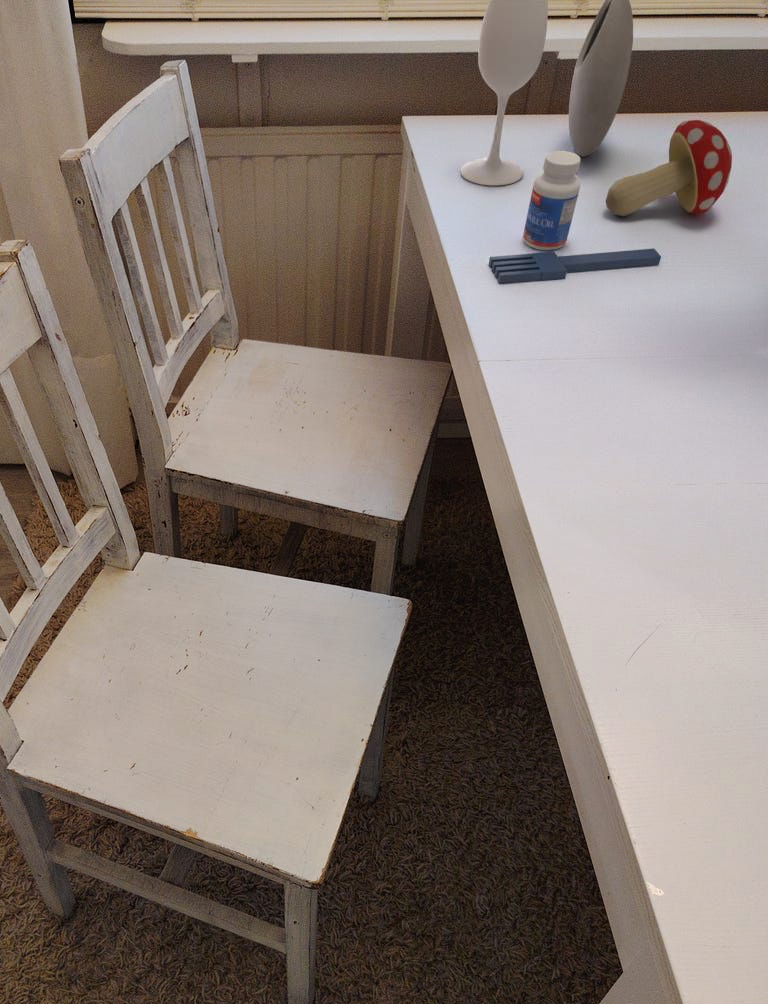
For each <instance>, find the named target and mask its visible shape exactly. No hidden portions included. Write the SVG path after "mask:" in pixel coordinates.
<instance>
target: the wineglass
mask: <svg viewBox="0 0 768 1004" xmlns="http://www.w3.org/2000/svg"><path fill="white" fill-rule="evenodd" d="M548 16H549V0H488V2H487V5H486V7H485V12H484V16H483V19H482V24H481V28H480V35H479V42H478V50H477V51H478V52H477V54H478V55H477V63H478V69H479V73H480V75H481V77H482V79H483V81H484V82H485V84H486V85H487V86H488V87H489V88H490V89H491V90H492V91H494V92H495V94H496V96H497V109H496V119H495V126H494V131H493V136H492V137H493V138H492V141H491V145H490V150H489V155H488V157H481V158H475V159H473V160H470V161H468V162H466V163H465V164H464V165H463V166H462V167H461V169H460V174H461V176H462V177H463V178H464V179H465V180H467V181H469V182H471V183H474V184H478V185H483V186H506V185H510V184H514V183H516V182H518V181H519V180H521V179H522V177H523V176H524V170H523V169H522V168H521V166H520V165H518V164H516V162H513V161H511V160H508V159H506V158H501V157H500V152H501V140H502V139H501V138H502V131H503V125H504V118H505V113H506V109H507V104H508V101H509V100H510V99H509V98H510V97H511V96H512V94H514V93H515V92H516V91H518V90H520V89H521V88H523V87H524V86H525V85H526V84H527V83H528V82H529V81H530V80H531V79H532V78H533V76H534V75H535V73H536V72H537V70H538V68H539V66H540V63H541V60H542V58H543V53H544V49H545V44H546V38H547V31H548V19H549V18H548Z"/></svg>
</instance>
